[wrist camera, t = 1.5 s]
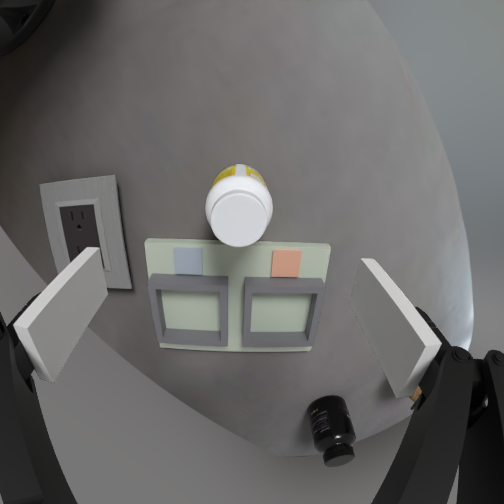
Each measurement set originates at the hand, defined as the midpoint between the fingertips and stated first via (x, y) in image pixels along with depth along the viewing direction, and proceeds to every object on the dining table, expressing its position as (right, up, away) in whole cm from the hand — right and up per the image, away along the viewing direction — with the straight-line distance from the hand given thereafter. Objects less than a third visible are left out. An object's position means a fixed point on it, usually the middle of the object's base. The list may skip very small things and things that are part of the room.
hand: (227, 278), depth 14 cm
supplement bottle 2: (+14, -26, +31) cm, 43 cm away
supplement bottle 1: (0, +8, +15) cm, 17 cm away
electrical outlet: (-18, +4, +17) cm, 25 cm away
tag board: (-1, -4, +20) cm, 21 cm away
